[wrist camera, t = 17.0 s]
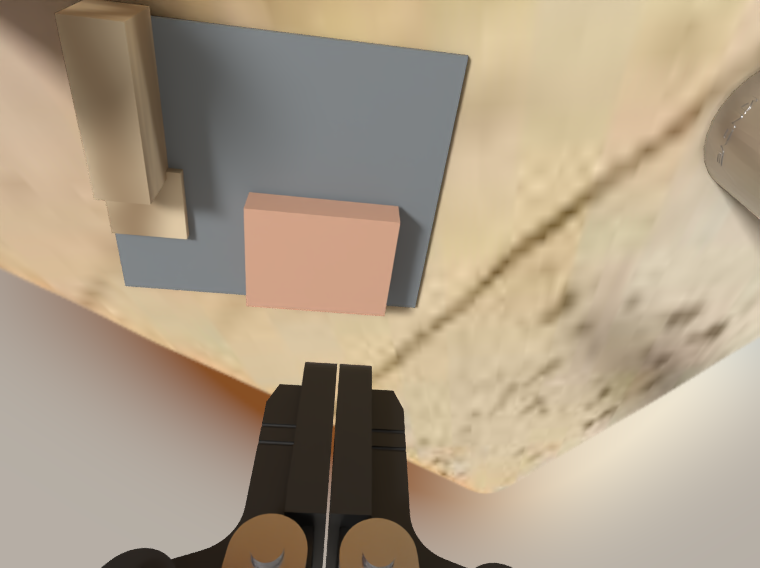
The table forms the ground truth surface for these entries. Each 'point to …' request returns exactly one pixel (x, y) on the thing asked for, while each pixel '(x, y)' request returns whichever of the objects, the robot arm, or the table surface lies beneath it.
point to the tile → (319, 253)
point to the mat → (293, 142)
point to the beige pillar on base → (122, 116)
